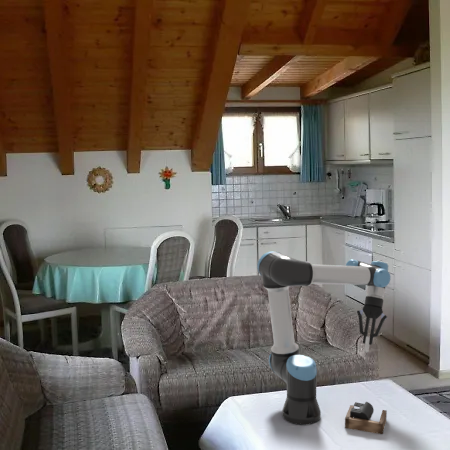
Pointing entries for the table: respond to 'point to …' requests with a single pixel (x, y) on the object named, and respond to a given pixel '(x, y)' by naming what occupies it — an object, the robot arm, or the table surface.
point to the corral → (365, 423)
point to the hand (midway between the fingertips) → (366, 352)
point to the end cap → (362, 411)
